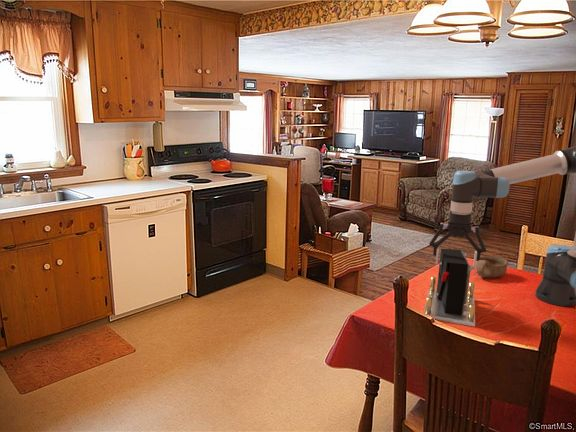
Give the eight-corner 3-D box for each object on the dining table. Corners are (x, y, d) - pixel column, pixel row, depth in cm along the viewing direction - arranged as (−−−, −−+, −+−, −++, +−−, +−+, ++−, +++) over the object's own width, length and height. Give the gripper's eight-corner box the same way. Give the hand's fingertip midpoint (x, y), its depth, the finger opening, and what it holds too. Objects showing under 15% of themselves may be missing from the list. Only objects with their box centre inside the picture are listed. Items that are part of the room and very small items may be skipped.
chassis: (473, 299, 186) (475, 282, 184) (474, 326, 162) (477, 307, 160) (428, 292, 192) (430, 275, 190) (422, 317, 168) (424, 298, 167)
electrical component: (467, 315, 167) (474, 264, 163) (439, 312, 169) (444, 262, 165) (460, 296, 184) (466, 250, 179) (434, 294, 186) (439, 248, 181)
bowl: (503, 283, 200) (499, 261, 200) (471, 283, 209) (467, 263, 209) (513, 272, 214) (509, 251, 213) (482, 273, 223) (478, 253, 222)
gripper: (496, 213, 167) (489, 267, 172) (426, 207, 176) (422, 258, 181) (497, 217, 160) (490, 273, 165) (425, 211, 169) (420, 264, 174)
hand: (455, 266), depth 173 cm, fingers open, 13 cm apart
